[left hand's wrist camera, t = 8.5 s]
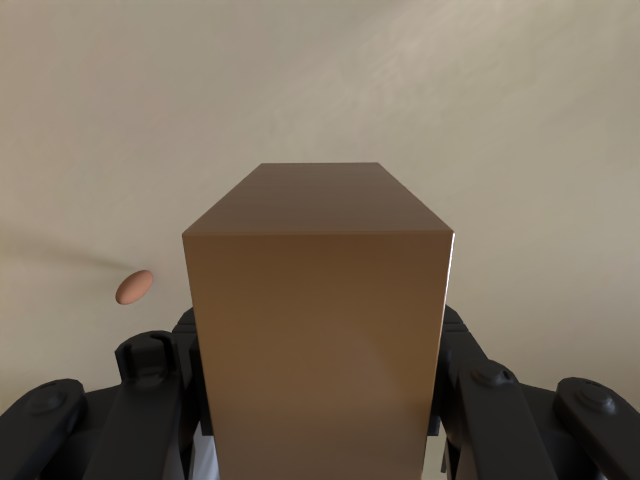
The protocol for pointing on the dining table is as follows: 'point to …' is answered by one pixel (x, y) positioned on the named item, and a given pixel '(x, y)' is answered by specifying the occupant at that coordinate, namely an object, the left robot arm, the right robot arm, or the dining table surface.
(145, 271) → the egg
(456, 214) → the dining table surface
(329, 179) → the post
